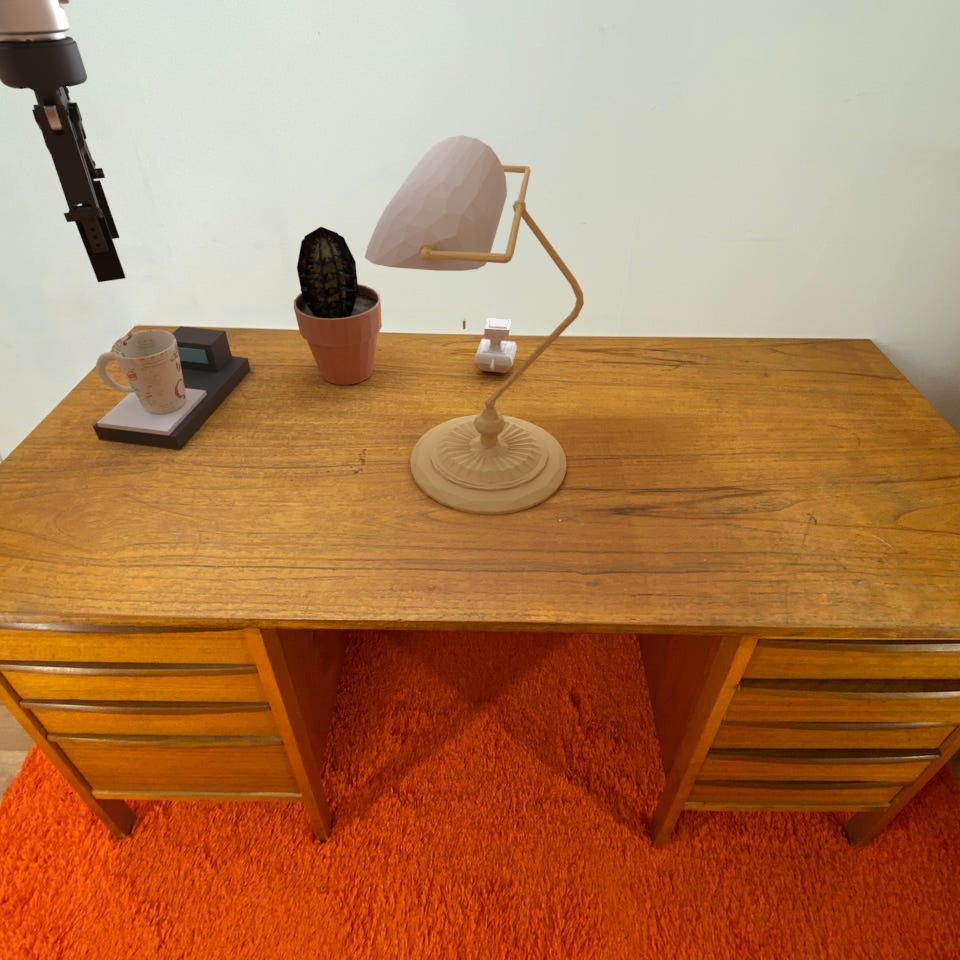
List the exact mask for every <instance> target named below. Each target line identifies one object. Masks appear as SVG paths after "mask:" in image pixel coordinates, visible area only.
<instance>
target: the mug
mask: <svg viewBox="0 0 960 960" xmlns="http://www.w3.org/2000/svg"><path fill="white" fill-rule="evenodd" d="M110 361H116V362H117V364H118V366H119V368H120V369H121V372H122V373H123V375H124V377H125V378H126V380H127V381H128V383H129V385H130V386H125V385H122V384H120V383H117V382H116V381H115V380H114V379H112V378H111V376H110V375H109V374H108V372H107V369H106V367H107V365H108V363H109V362H110ZM95 363H96V364H95V369H96V372H97V375H98V376H99V378H100V379H101V380H102V381H103V383H104V384H106V385H107V386H109V387H110V388H112V389H114V390H117V391H119V392H122V393H126V394H127V393H128V394H129V393H133V392H135V394H136V396H137V397H138V399H139V401H140V402H141V404H142V406H143V408H144V409H145V410H146V411H147V412H149V413H152V414H165V413H169V412H173V411H175V410H177V409H179V408H181V407H182V406H183V405H184V404H185V402H186V392H185V387H184V381H183V375H182V369H181V364H180V358H179V352H178V347H177V342H176V338H175V336H174V335H173V334H172V332H169V331H167V330H161V329H146V330H139V331H135V332H131V333H129V334H126V335H124V336H122V337H120V338H119V339H117V340H116V341H115V342H114V343H113V344H112V347H111V351H107V352H102V353H101V354H100V355H99V356H98V357H97V360H96V362H95Z"/></svg>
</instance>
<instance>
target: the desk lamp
mask: <svg viewBox="0 0 960 960" xmlns="http://www.w3.org/2000/svg"><path fill="white" fill-rule="evenodd" d="M506 173H514V174H515V173H516V174H523V177H522V181H521V184H520V185H521V186H520V190H519V193H518V198H517V199H516V200H514V203H513V204H512V209H513V212H514V214H513V219H512V223H511V227H510V231H509V236H508V241H507V245H506V249H505V253H499V252H498V253H497V252H492V249H493V246H494V242H495V239H496V236H497V231H498V228H499V225H500V221H501V217H502V214H503V211H504V207H505V204H506V201H507V197H508V186H507V177H506ZM530 176H531V168H530V166H528V165H513V164H512V165H511V164H510V165H508V164H502V162H501V160H500V159H499V157H498V154H496V152H495V151H494V149H493V148H492V147H491V146H490V145H488V144H486V143H485V142H483V141H482V140H480V139H478V138H477V137H472V136H467V135H456V136H455V135H454V136H449V137H446V138H445V139H443V140H441V141H439V142H437V143H435V144H434V145H432V146H431V147H430V148H429V149H428V150H427V151H426V152H425V153H424V154H423V156H421V158H420V160H419V161H418V162H417V163H416V165H415V166H414V168H413V169H412V171H411V172H410V173H409V175H408V176H407V178H406V179H405V180H404V181H403V183H402V184H401V186H400V187H399V188H398V189H397V191H396V192H395V193H394V195H393V196H392V198H391V199H390V201H389V202H388V203H387V205H386V206H385V208H384V210H383V212H382V213H381V215H380V217H379V219H378V221H377V223H376V225H375V227H374V229H373V233H372V234H371V236H370V239H369V242H368V244H367V247H366V249H365V254H364V258H365V260H367V261H369V262H370V263H371V264H374V265H377V266H382V267H387V268H396V269H407V270H408V269H409V270H410V269H411V270H424V271H435V272H436V271H442V272H445V271H446V272H447V271H448V272H458V271H459V272H465V271H473V270H478V269H480V268H482V267H484V266H486V264H487V263H492V264H508V263H509V262H511V261H512V259H513V256H514V254H515V251H516V250H515V249H516V244H517V239H518V234H519V230H520V226H521V225H520V224H521V219H523V221H524V222H525V223H526V225H527V226H528V228H529V229H530V230H531V232H532V233H533V235H534V236H535V237H536V239H537V240H538V241H539V243H540V244H541V246H542V247H543V249H544V250H545V251H546V253H547V254H548V256H549V257H550V258H551V260H552V261H553V263H554V264H555V265H556V267H557V268H558V269H559V271H560V272H561V273H562V275H563V276H564V278H565V280H567V282H568V283H569V285H570V286H571V290H572V292H573V293H574V296H575V298H576V300H575V303H574V304H575V305H574V307H573V309H572V311H571V312H570V314H568V316H567V317H566V318H565V319H564V320H563V321H562V322H561V323H560V324H559V325H558V326H557V327H556V328H555V329H554V330H553V331H552V332H551V333H550V335H548V336H547V338H545V340H544V341H542V343H541V344H539V346H538V347H537V348H536V349H535V350H534V351H533V352H532V353H531V354H530V355H529V356H528V357H527V358H526V359H525V360H524V361H523V362H522V363H521V364H520V366H518V368H516V370H515V371H514V372H512V374H511V375H510V376H509V377H508V378H507V379H506V380H505V381H504V382H503V383H502V384H501V385H500V386H499V387H498V388H497V389H496V390H495V391H494V392H493V393H492V394H491V395H490V396H489V397H487V398H485V399H484V406H483V408H482V410H480V411H479V412H478V413H476V414H470V415H465V416H459V417H455V418H452V419H448V420H445V421H444V422H441V423H439V424H437V425H436V426H434V427H432V428H430V429H428V430H427V431H426V432H425V433H424V434H423V435H422V436H421V437H420V438H418V440H417V441H416V443H415V445H414V446H413V447H412V450H411V454H410V459H409V464H410V472H411V476H412V478H413V479H414V481H415V482H414V483H416V486H418V488H420V489H421V491H422V492H423V493H424V494H425V495H426V496H428V497H429V498H431V499H432V500H434V501H435V502H437V503H438V504H439V505H443V506H445V507H448V508H451V509H453V510H455V511H460V512H463V513H469V514H473V515H491V516H495V515H503V514H513V513H516V512H520V511H524V510H528V509H530V508H533V507H534V506H536V505H539V504H542V503H543V502H545V501H546V500H547V499H548V498H550V497H551V496H552V495H553V494H555V493H556V492H557V491H558V490H559V488H560V486H561V485H562V483H563V482H564V479H565V476H566V472H567V469H568V468H567V456H566V454H565V452H564V449H563V447H562V445H561V444H560V443H559V442H558V441H557V439H556V438H555V437H554V436H553V435H552V434H550V433H549V432H548V431H547V430H545V429H544V428H542V427H541V426H538V425H536V424H534V423H532V422H530V421H527V420H523V419H522V418H517V417H514V416H511V415H504V414H502V413H501V412H499V411H498V410H497V407H496V401H497V400H498V399H499V398H500V397H501V396H502V395H503V394H504V393H505V392H506V391H507V390H508V389H509V388H510V387H511V386H512V385H513V384H514V383H515V381H517V380H518V379H519V377H520V376H522V374H523V373H524V372H525V371H526V370H527V369H528V368H529V367H530V366H531V365H532V364H534V362H535V361H536V360H537V359H538V358H539V357H540V356H541V355H542V354H543V353H544V352H545V351H546V350H547V349H548V348H549V347H550V346H551V345H552V344H553V342H555V341H556V340H557V338H559V336H560V335H562V334H563V332H565V331H566V329H567V328H568V327H569V326H570V325H572V323H573V322H574V321H576V320H577V318H578V317H579V315H580V313H581V311H582V309H583V306H584V304H585V303H584V292H583V291H582V287H580V284H579V282H578V280H577V279H576V277H575V276H574V275H573V273H572V272H571V270H570V269H569V268H568V266H567V265H566V263H565V261H564V260H563V259H562V257H560V255H559V254H558V252H557V251H556V250H555V248H554V247H553V246H552V244H551V242H550V241H549V240H548V238H547V237H546V236H545V234H544V233H543V231H542V230H541V228H540V227H539V226H538V224H537V223H536V222H535V220H534V219H533V218H532V216H531V215H530V213H529V212H528V211H527V205H526V202H525V199H526V195H527V191H528V185H529V181H530ZM466 324H467V323H466V319H462V329H463V330H466V326H467V325H466Z"/></svg>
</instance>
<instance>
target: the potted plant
mask: <svg viewBox="0 0 960 960" xmlns="http://www.w3.org/2000/svg"><path fill="white" fill-rule="evenodd" d="M296 271H297V276H298V281H299V286H300V292H301V293H299V294H298V295H297V296H295V298H294V300H293V309H294V314H295V319H296V322H297V327H298V331H299V334H300V335H301V337H303V339H304V340H305V341H307V345H308V347H309V349H310V351H311V354H312V357H313V359H314V361H315V364H316V366H317V369H318V371H319V374H320V376H321V377H322V379H323V380H324V381H326V382H328V383H330V384H334V385H336V386H337V385H338V386H349V385H355V384H359V383H361V382H363V381H366V380H367V379H369V377H370V376H372V374H373V372H374V365H375V357H376V350H377V349H376V348H377V340H378V334H379V333H380V331H381V329H382V327H383V325H382V304H381V303H382V301H381V296H380V293H379V292H377V290H375V289H374V288H372V287H370V286H368V285H364V284H360V283H359V282H358V274H357V264H356V260H355V258H354V256H353V253H352V251H351V249H350V247H349V245H348V243H347V242H346V239H345V237H344V236H342V235H340V234H339V232H336V231H333V230H331V229H328V228H326V227H323V226H319V227H318V228H316V229H314V230H313V231H311V232H309V233H307V234H306V235H304V238H303V239H301V242H300V247H299V253H298V259H297V265H296Z"/></svg>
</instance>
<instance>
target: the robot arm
mask: <svg viewBox="0 0 960 960" xmlns="http://www.w3.org/2000/svg"><path fill="white" fill-rule="evenodd" d="M70 2H71V0H0V82H1V83H2V84H3V85H4V86H6V87H8V88H12V89H19V90H23V89H24V90H25V89H30V90H31V91H33V93H34V95H35V100H36V102H37V104H33V109H31V111H32V115H33V117H34V120H35V122H36V124H37V126H38V128H39V130H40V132H41V134H42V137H43V141H44V144H45V147H46V148H47V150H48V152H49V154H50V156H51V159H52V162H53V165H54V168H55V171H56V174H57V177H58V181H59V183H60V186H61V189H62V192H63V195H64V199H65V202H66V204H67V207H68V212H63V216H64V218H65V221H66V222H67V223H75V225H76V228H77V231H78V234H79V237H80V239H81V241H82V243H83V246H84V249H85V251H86V254H87V257H88V259H89V262H90V265H91V268H92V270H93V272H94V276H95V278H96V281H97V282H98V283H103V282H110V281H117V280H124V279H126V274H125V271H124V268H123V266H122V262H121V260H120V257H119V253H118V251H117V249H116V246H115V243H114V241H113V240H115V239H120V235H119V232H118V229H117V225H116V222H115V220H114V217H113V214H112V211H111V208H110V206H109V205H110V204H109V201H108V200H107V197H106V194H105V191H104V188H103V185H102V182H101V180H100V179H105V178H106V175H105V172H104V169H103V167H98V168H96V166H97V164H96V161H95V160H94V159H93V156H92V154H91V151H90V149H89V145H88V143H87V140H86V139H87V134H86V130H85V127H84V125H83V118H82V114H81V110H80V107H79V104H78V103H77V102H72V101H71V97H70V90H69V87H75V86H79V85H81V84H84V83H85V82H86V81H87V80H88V75H87V70H86V68H85V64H84V61H83V59H82V56H81V52H80V49H79V47H78V43H77V41H76V40H74V38H73V37H72V36H67V34H66V32H69V30H70V29H71V27H72V26H71V24H70V19H69V17H68V13H67V11H66V8H65V7H64V6H62V5H67V4H70Z"/></svg>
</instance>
